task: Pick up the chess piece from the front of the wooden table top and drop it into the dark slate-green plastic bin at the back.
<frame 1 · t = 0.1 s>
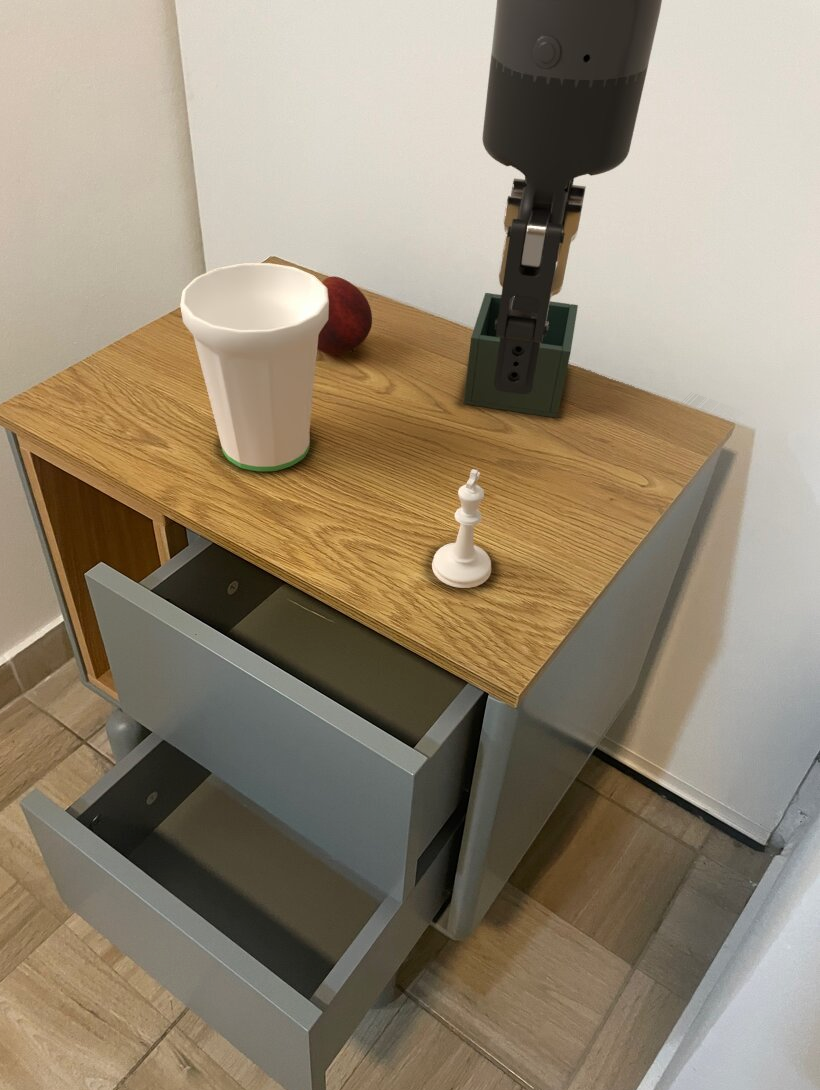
hand: (521, 352, 54), 23 cm above the cabinet, tool pointing down, fingers open, 8 cm apart
bin: (515, 386, 93), on the cabinet
cup: (266, 447, 84), on the cabinet
chess piece: (461, 569, 73), on the cabinet
apple: (337, 351, 97), on the cabinet
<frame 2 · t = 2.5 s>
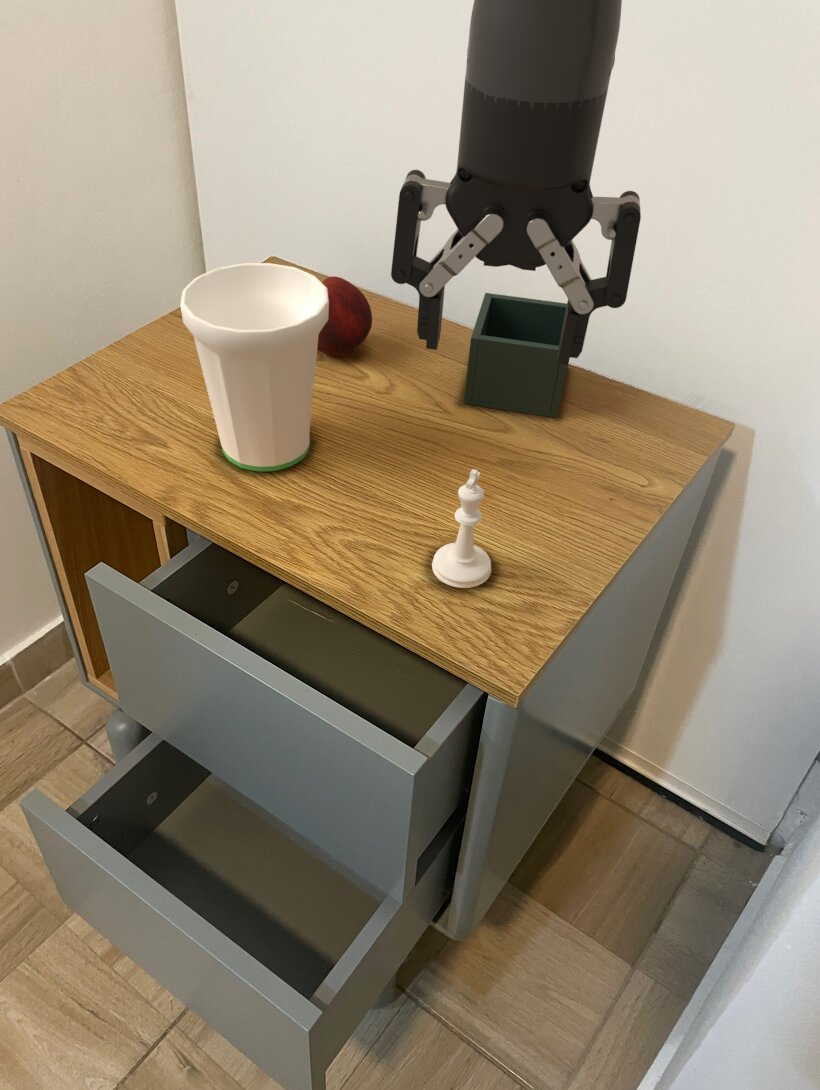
hand: (497, 351, 58), 21 cm above the cabinet, tool pointing down, fingers open, 8 cm apart
nothing on the cabinet moved.
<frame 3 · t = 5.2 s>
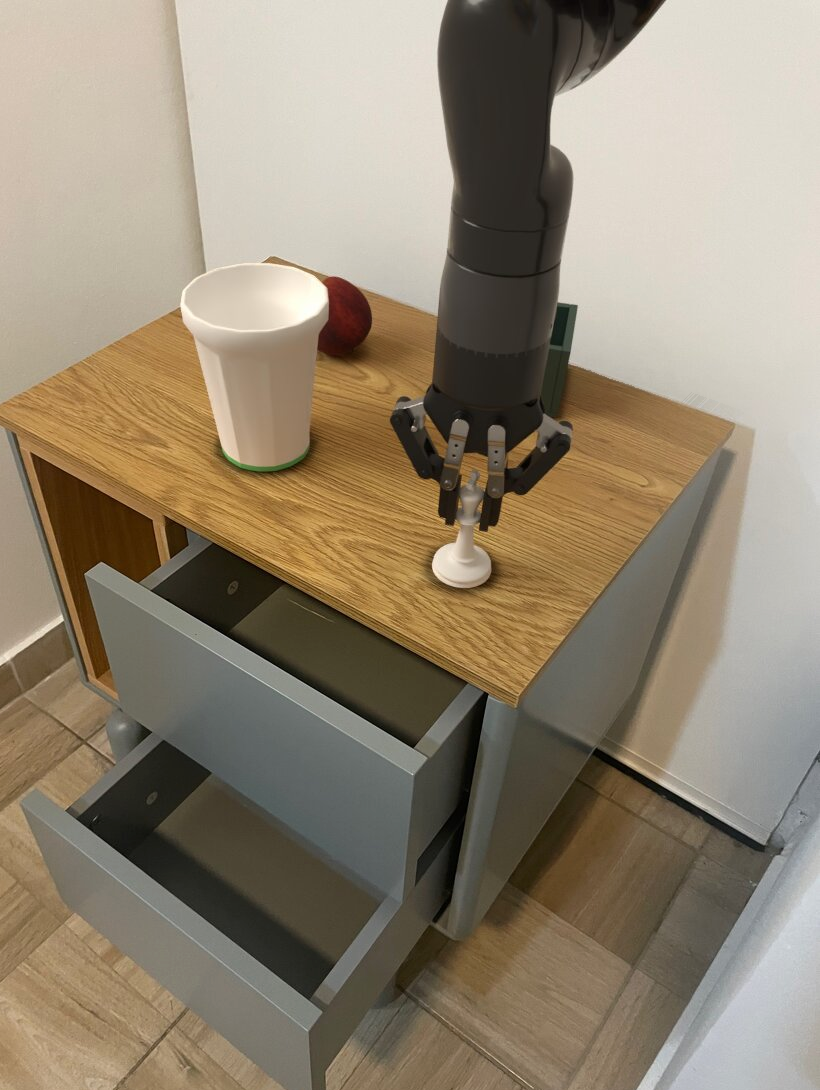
hand: (468, 521, 69), 5 cm above the cabinet, tool pointing down, fingers closed on chess piece
chess piece: (461, 569, 73), on the cabinet, touching gripper
everything else where it was.
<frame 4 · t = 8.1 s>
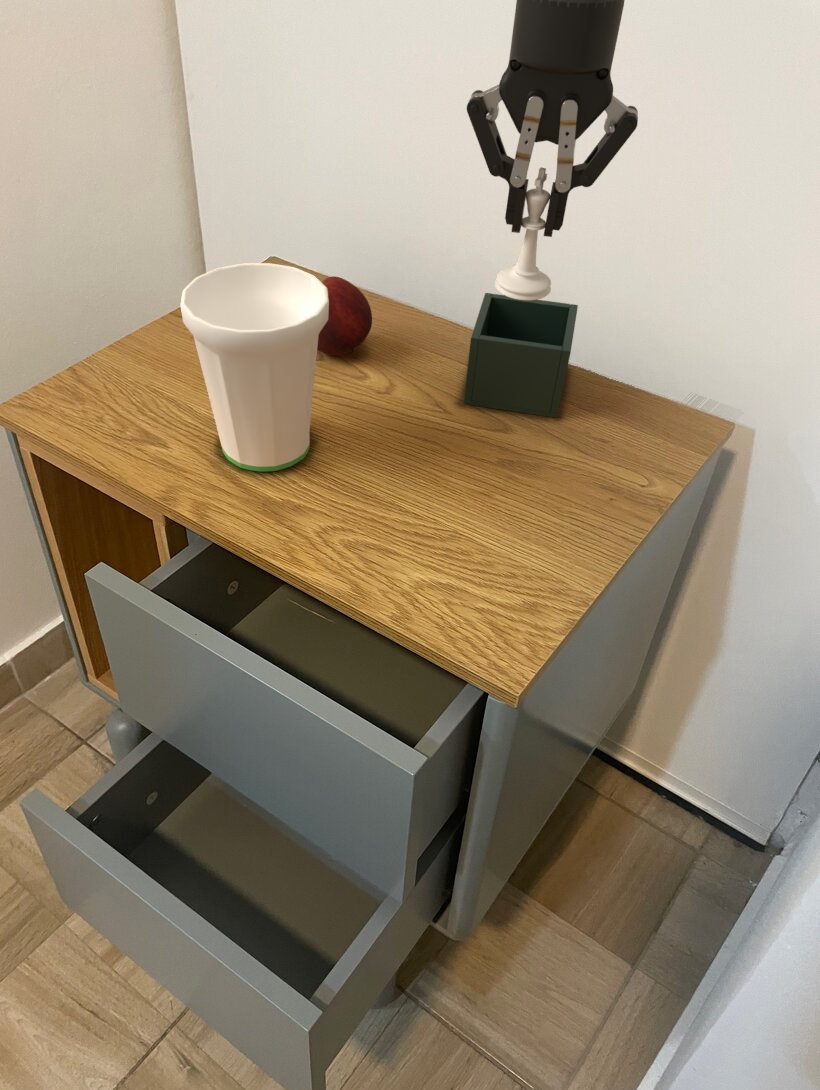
hand: (532, 230, 74), 19 cm above the cabinet, tool pointing down, fingers closed on chess piece
chess piece: (522, 289, 78), point 14 cm above the cabinet, touching gripper
everything else where it was.
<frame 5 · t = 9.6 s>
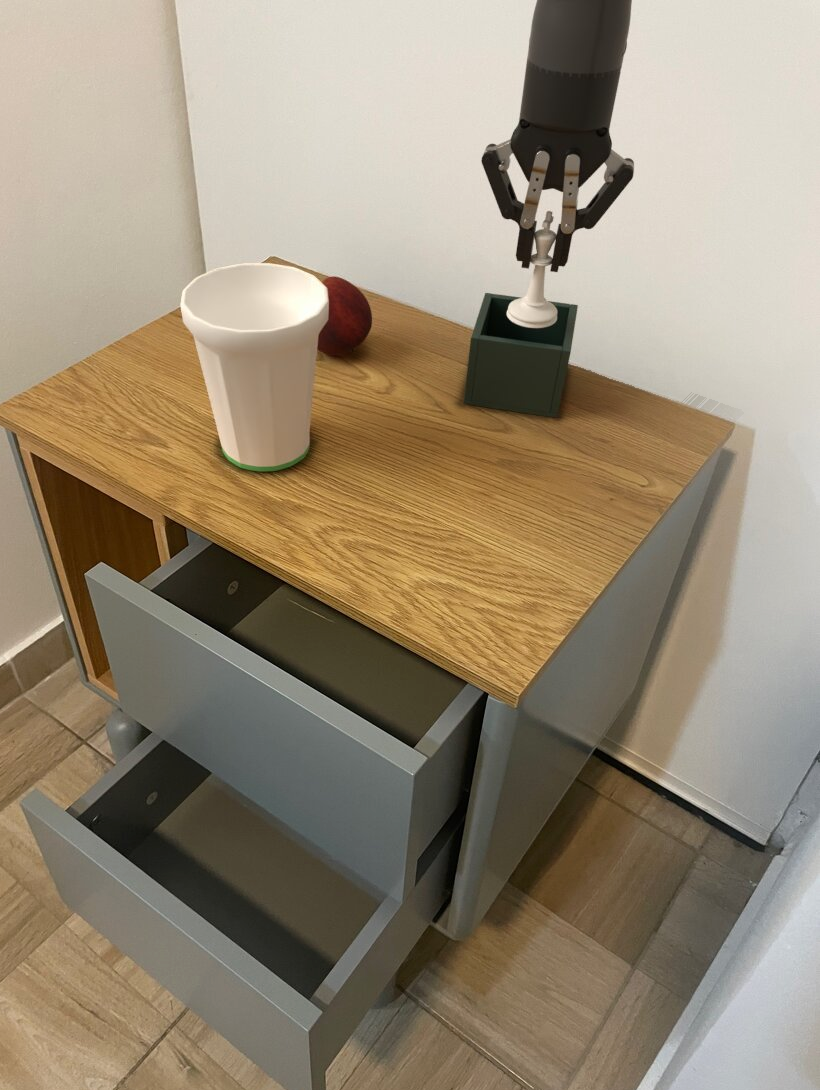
hand: (540, 265, 82), 14 cm above the cabinet, tool pointing down, fingers closed on chess piece
chess piece: (531, 317, 86), point 8 cm above the cabinet, touching gripper
everything else where it was.
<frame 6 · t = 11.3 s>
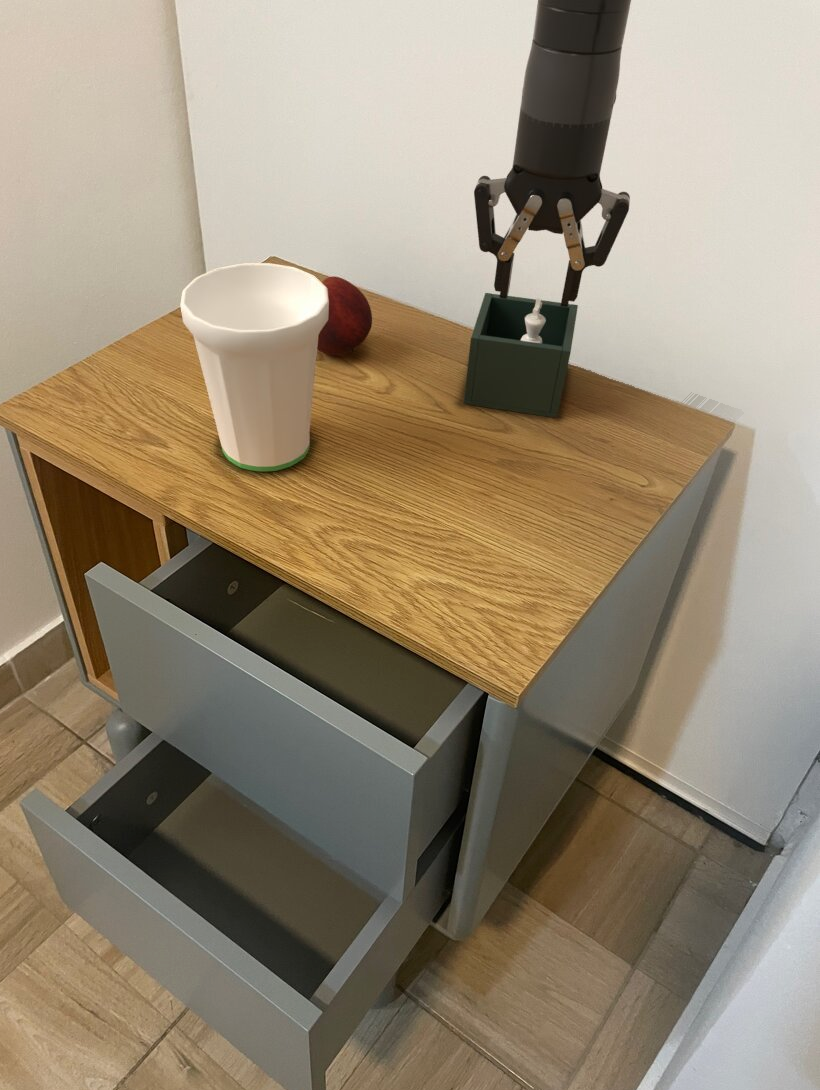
hand: (534, 298, 84), 10 cm above the cabinet, tool pointing down, fingers open, 5 cm apart
chess piece: (523, 389, 91), resting on bin
everything else where it was.
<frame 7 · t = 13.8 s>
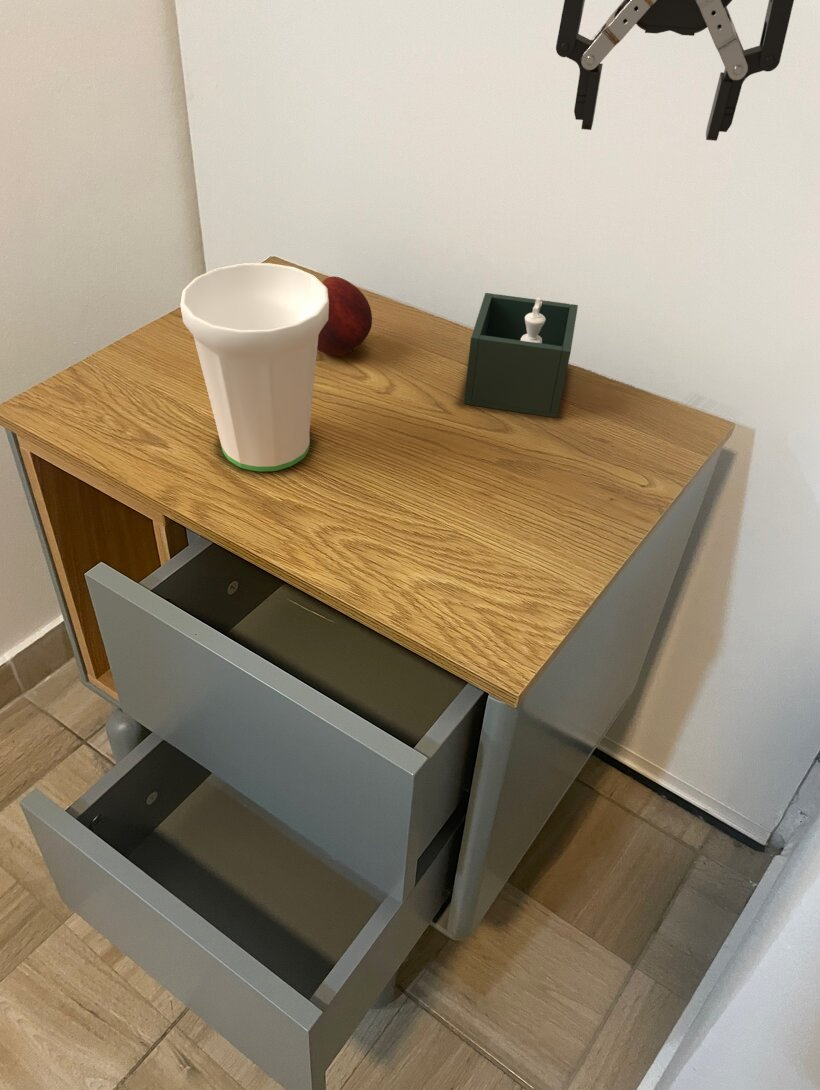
hand: (648, 131, 62), 30 cm above the cabinet, tool pointing down, fingers open, 8 cm apart
nothing on the cabinet moved.
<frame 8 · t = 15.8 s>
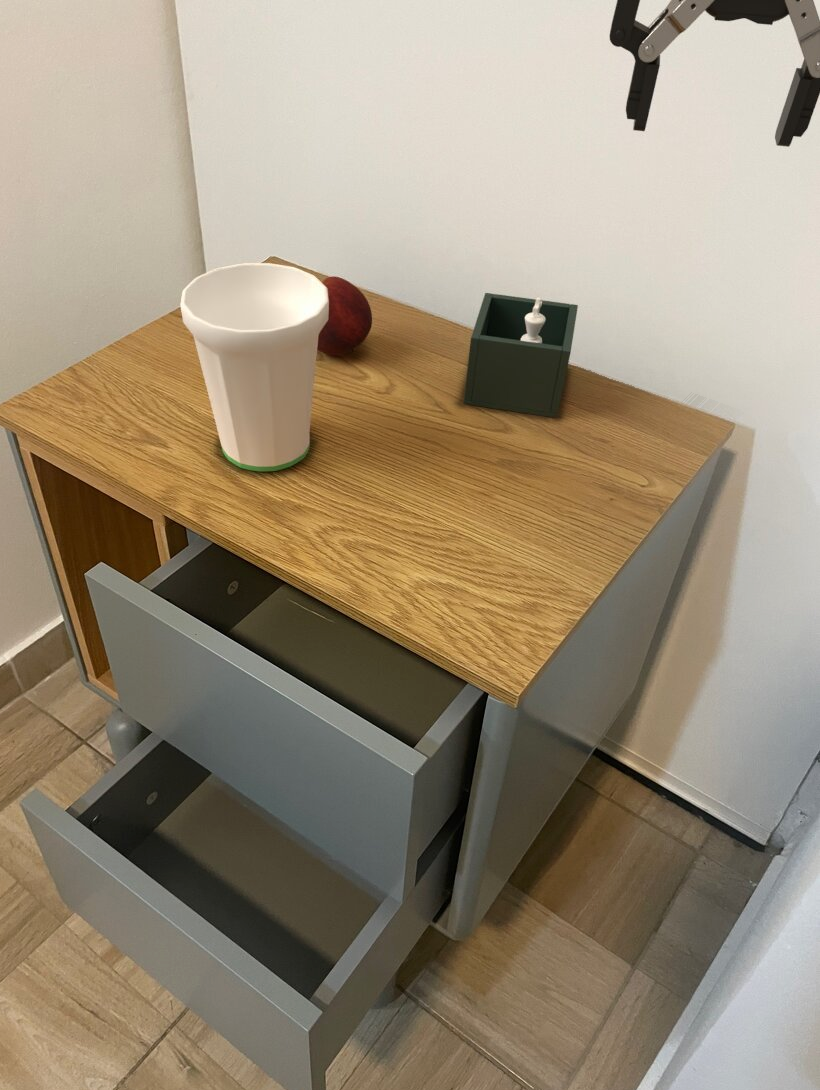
hand: (709, 134, 54), 32 cm above the cabinet, tool pointing down, fingers open, 8 cm apart
nothing on the cabinet moved.
at the end: chess piece inside the target area in the bin (1.5 cm from its centre), point 0.3 cm above the bin's base; the gripper is holding nothing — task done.
